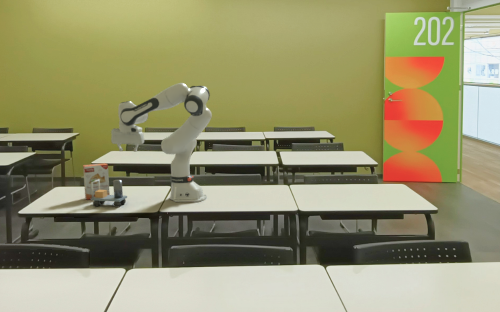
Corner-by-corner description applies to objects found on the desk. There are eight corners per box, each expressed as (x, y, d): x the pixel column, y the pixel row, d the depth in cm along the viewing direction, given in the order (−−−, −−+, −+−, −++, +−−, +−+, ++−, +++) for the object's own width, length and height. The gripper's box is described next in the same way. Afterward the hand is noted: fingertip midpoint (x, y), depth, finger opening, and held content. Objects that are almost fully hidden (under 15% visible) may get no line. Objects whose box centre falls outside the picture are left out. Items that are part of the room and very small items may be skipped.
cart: (127, 203, 279) (126, 179, 277) (120, 207, 271) (118, 183, 268) (99, 202, 283) (98, 178, 281) (91, 206, 275) (89, 182, 272)
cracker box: (86, 200, 288) (84, 166, 285) (85, 198, 293) (82, 164, 290) (110, 197, 295) (108, 164, 291) (108, 195, 300) (106, 162, 296)
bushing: (124, 196, 277) (123, 179, 275) (120, 198, 272) (119, 181, 270) (116, 196, 278) (115, 179, 276) (112, 198, 273) (111, 181, 271)
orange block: (107, 195, 279) (107, 189, 278) (103, 197, 274) (102, 192, 274) (99, 195, 280) (99, 189, 280) (95, 197, 275) (94, 191, 275)
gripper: (108, 128, 284) (110, 151, 286) (140, 129, 279) (141, 152, 282) (113, 127, 290) (115, 150, 292) (144, 128, 285) (145, 150, 288)
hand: (128, 151), depth 287 cm, fingers open, 8 cm apart
